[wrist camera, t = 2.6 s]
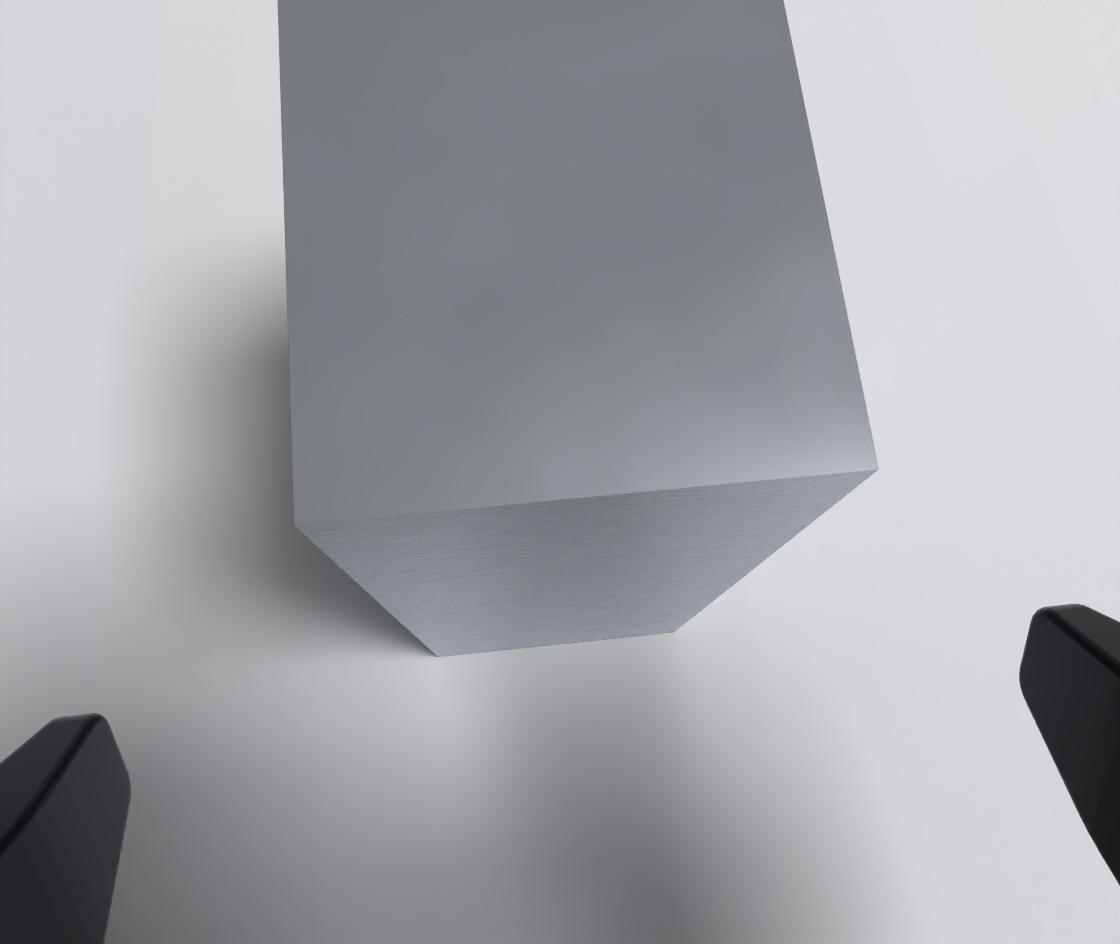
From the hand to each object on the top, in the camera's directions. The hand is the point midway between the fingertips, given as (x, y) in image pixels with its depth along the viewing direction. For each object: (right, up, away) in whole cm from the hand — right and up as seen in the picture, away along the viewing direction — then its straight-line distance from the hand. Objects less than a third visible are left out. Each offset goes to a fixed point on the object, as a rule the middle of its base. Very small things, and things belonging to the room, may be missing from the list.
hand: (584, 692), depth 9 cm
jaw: (-1, +1, +12) cm, 12 cm away
